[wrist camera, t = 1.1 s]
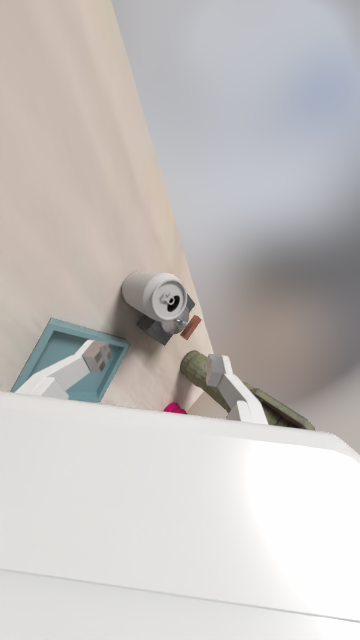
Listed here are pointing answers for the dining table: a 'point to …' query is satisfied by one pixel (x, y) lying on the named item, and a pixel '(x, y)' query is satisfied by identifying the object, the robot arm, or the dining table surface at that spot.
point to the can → (155, 294)
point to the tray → (67, 341)
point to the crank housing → (171, 325)
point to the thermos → (272, 408)
